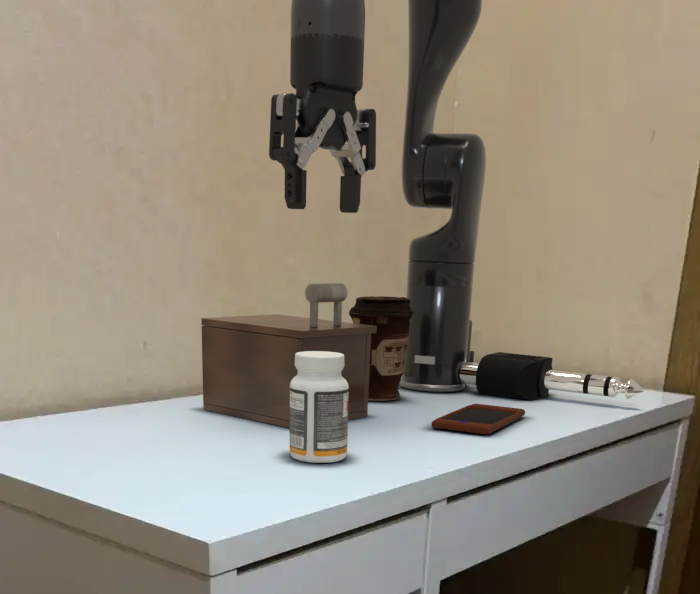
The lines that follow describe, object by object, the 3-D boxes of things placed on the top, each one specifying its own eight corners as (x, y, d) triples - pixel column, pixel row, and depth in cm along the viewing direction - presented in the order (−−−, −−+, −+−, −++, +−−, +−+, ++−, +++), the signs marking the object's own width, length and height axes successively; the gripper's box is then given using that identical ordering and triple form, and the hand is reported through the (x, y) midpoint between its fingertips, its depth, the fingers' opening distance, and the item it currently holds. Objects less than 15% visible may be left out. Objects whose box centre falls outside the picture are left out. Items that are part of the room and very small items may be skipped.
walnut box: (367, 416, 114) (371, 332, 110) (296, 429, 105) (297, 338, 101) (275, 399, 123) (276, 321, 119) (203, 409, 114) (201, 325, 110)
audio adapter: (489, 348, 140) (657, 365, 128) (485, 384, 142) (650, 405, 130) (458, 354, 131) (635, 373, 120) (455, 393, 133) (628, 415, 122)
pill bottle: (349, 453, 94) (353, 351, 90) (343, 466, 89) (347, 358, 85) (293, 450, 95) (295, 348, 91) (284, 462, 89) (285, 355, 86)
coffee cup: (420, 398, 128) (427, 298, 123) (390, 406, 121) (395, 300, 116) (366, 391, 132) (370, 294, 127) (334, 398, 125) (337, 295, 120)
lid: (376, 333, 109) (378, 284, 107) (302, 338, 100) (303, 285, 98) (276, 320, 119) (276, 275, 117) (201, 325, 110) (200, 276, 108)
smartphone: (430, 419, 107) (472, 402, 120) (429, 427, 108) (472, 409, 120) (489, 426, 104) (526, 408, 117) (488, 435, 105) (525, 416, 117)
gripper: (306, 20, 88) (303, 208, 94) (399, 45, 98) (391, 214, 104) (251, 28, 92) (251, 207, 98) (345, 51, 102) (340, 213, 109)
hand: (323, 210), depth 101 cm, fingers open, 8 cm apart
